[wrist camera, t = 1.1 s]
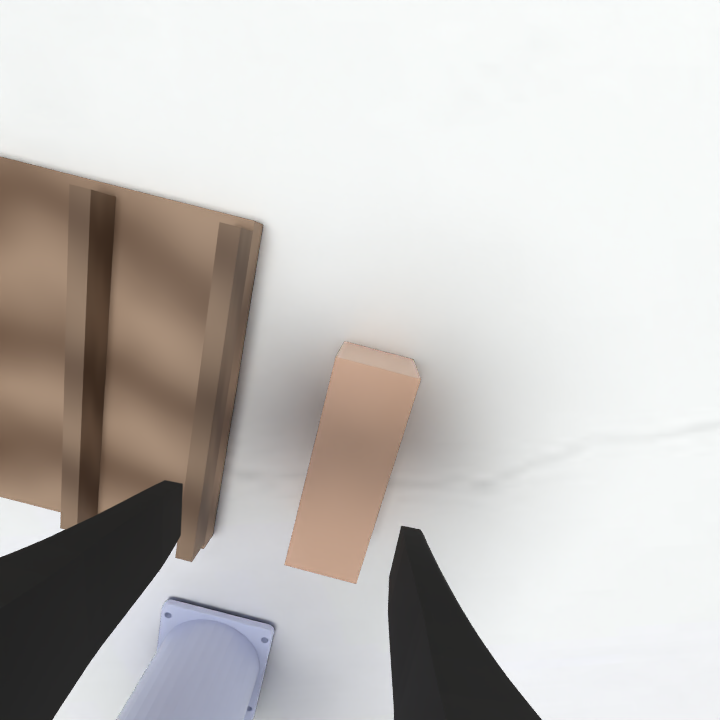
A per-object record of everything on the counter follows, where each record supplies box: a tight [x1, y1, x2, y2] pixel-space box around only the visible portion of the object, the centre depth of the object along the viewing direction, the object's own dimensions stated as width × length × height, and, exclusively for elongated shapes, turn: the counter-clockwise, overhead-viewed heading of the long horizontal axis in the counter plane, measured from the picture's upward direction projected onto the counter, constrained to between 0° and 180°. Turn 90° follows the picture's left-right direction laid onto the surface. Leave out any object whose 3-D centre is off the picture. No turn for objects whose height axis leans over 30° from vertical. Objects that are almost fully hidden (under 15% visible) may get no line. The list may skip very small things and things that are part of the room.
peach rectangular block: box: [285, 341, 421, 584], centre depth 19 cm, size 12×4×4 cm, turn 166°
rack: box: [0, 157, 263, 562], centre depth 19 cm, size 20×15×3 cm
